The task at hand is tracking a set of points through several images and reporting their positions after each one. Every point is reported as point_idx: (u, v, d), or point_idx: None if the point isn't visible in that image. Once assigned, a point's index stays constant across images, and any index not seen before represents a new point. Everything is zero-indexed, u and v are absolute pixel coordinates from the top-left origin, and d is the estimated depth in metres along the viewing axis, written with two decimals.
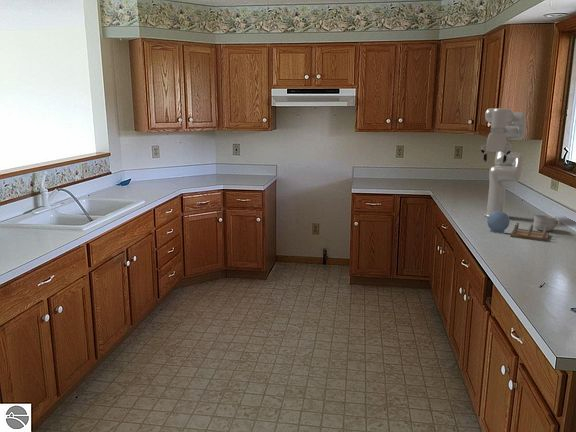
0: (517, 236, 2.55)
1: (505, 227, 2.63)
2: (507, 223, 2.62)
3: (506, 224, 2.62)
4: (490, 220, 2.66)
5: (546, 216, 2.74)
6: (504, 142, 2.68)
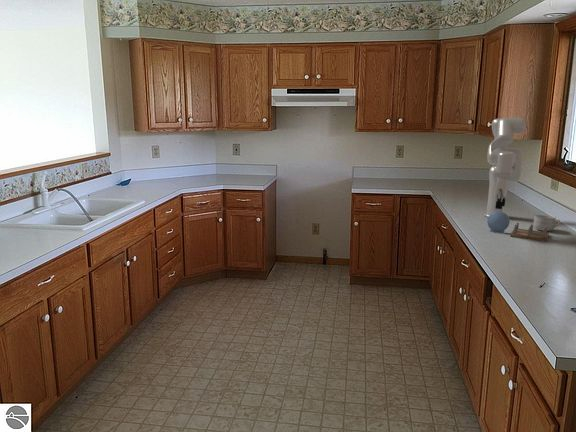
0: (517, 236, 2.55)
1: (505, 227, 2.63)
2: (507, 223, 2.62)
3: (506, 224, 2.62)
4: (490, 220, 2.66)
5: (546, 216, 2.74)
6: None
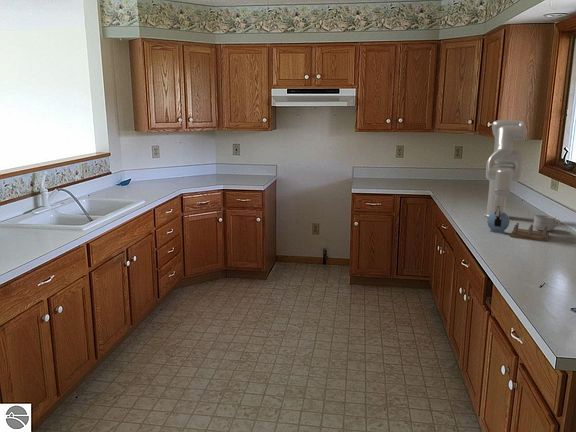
0: (517, 236, 2.55)
1: (505, 227, 2.63)
2: (507, 223, 2.62)
3: (506, 224, 2.62)
4: (490, 219, 2.66)
5: (546, 216, 2.74)
6: None
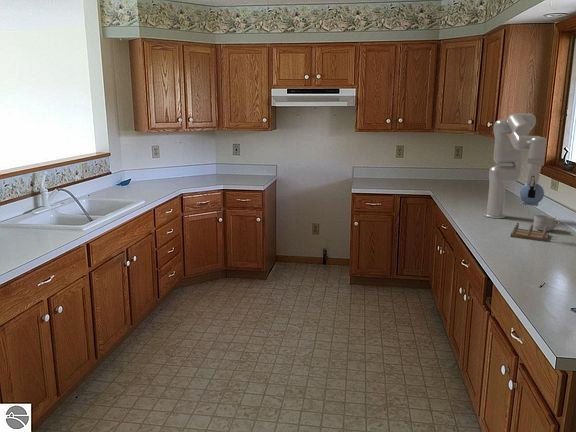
0: (517, 236, 2.55)
1: (539, 199, 2.49)
2: (541, 195, 2.48)
3: (540, 196, 2.49)
4: (524, 192, 2.53)
5: (546, 216, 2.74)
6: None
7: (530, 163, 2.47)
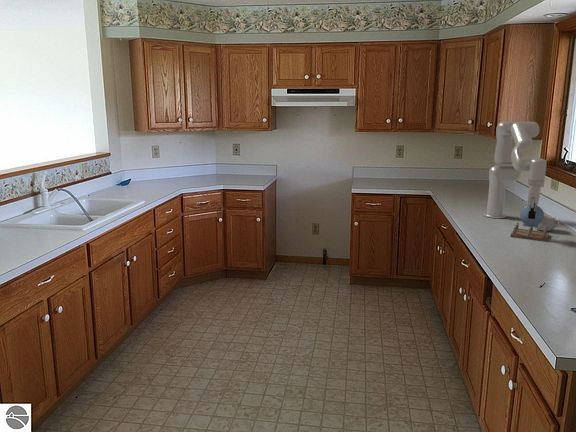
0: (517, 236, 2.55)
1: (539, 221, 2.51)
2: (541, 217, 2.50)
3: (540, 218, 2.51)
4: (524, 213, 2.54)
5: (546, 216, 2.74)
6: None
7: (530, 185, 2.48)
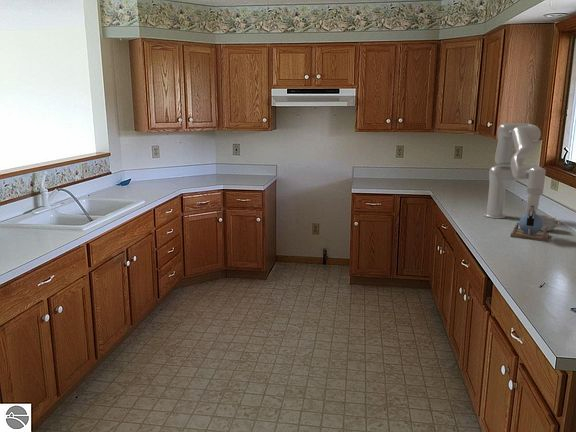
0: (517, 236, 2.55)
1: (538, 229, 2.52)
2: (540, 225, 2.51)
3: (539, 226, 2.52)
4: (523, 221, 2.55)
5: (546, 216, 2.74)
6: None
7: (529, 193, 2.49)
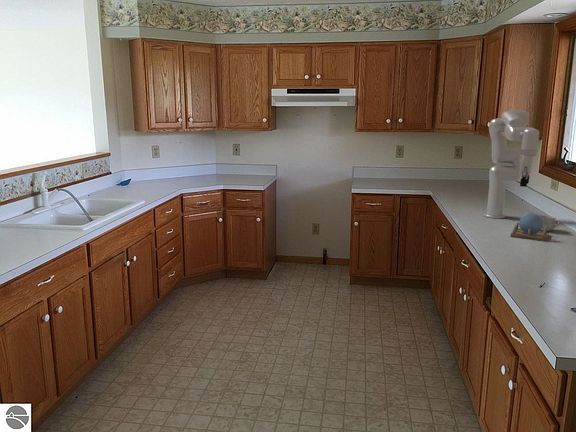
0: (517, 236, 2.55)
1: (538, 229, 2.52)
2: (540, 225, 2.51)
3: (539, 226, 2.52)
4: (523, 221, 2.55)
5: (546, 216, 2.74)
6: None
7: (523, 154, 2.54)
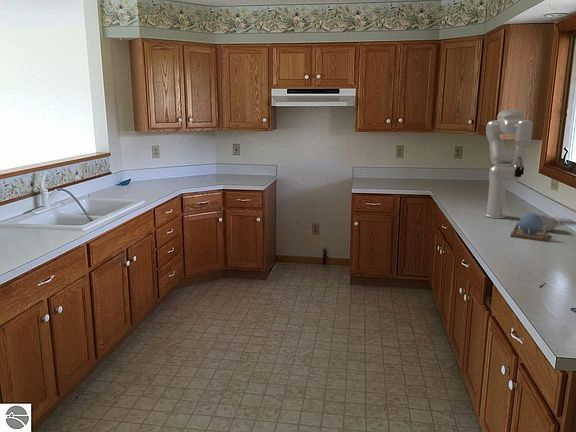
0: (517, 236, 2.55)
1: (538, 229, 2.52)
2: (540, 225, 2.51)
3: (539, 226, 2.52)
4: (523, 221, 2.55)
5: (546, 216, 2.74)
6: None
7: (517, 145, 2.59)
